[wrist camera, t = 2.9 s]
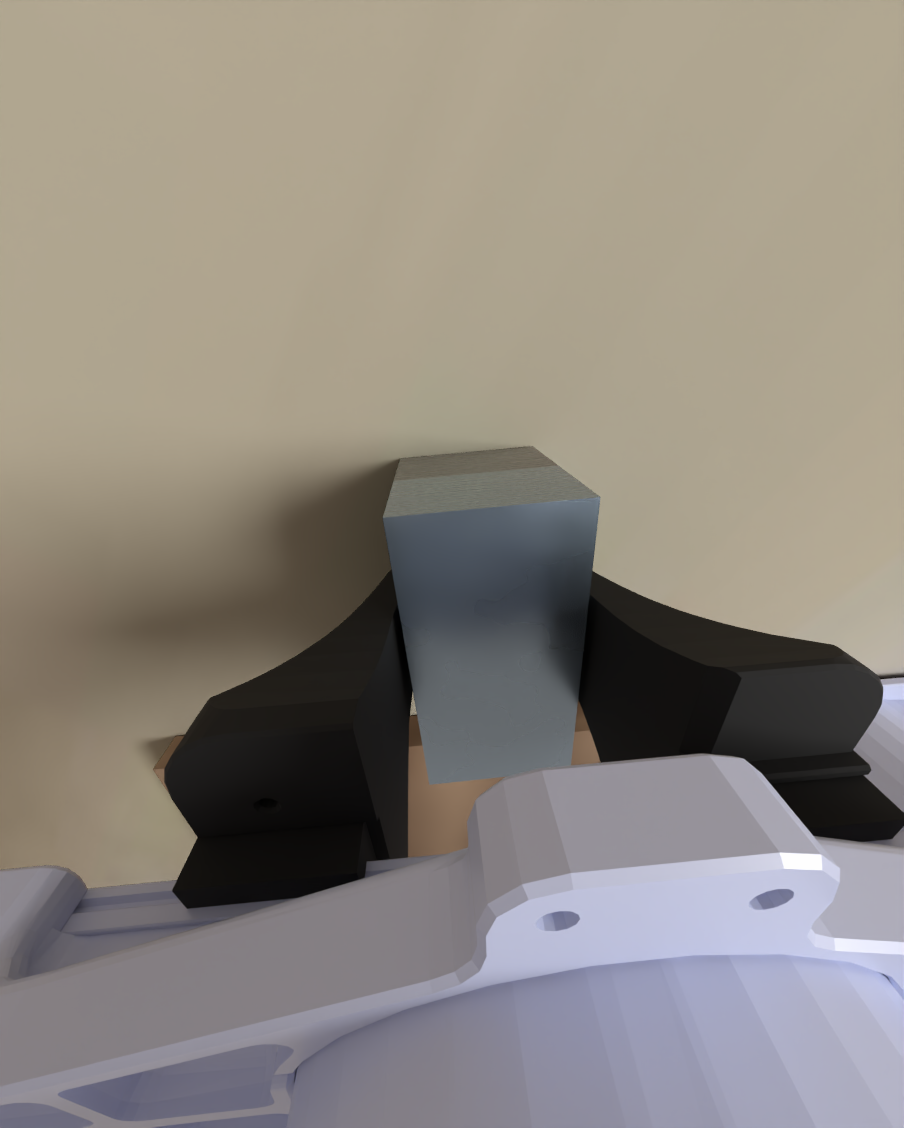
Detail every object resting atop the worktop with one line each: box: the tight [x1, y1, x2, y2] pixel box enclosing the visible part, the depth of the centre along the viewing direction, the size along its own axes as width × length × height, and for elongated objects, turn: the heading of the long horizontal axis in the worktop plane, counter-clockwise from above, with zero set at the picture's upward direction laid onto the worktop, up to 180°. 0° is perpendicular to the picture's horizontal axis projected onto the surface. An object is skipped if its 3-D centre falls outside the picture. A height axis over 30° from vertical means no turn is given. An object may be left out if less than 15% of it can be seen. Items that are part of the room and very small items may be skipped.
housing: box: [383, 446, 600, 785], centre depth 11 cm, size 4×8×5 cm, turn 5°
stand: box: [153, 701, 600, 858], centre depth 18 cm, size 18×10×2 cm, turn 93°
